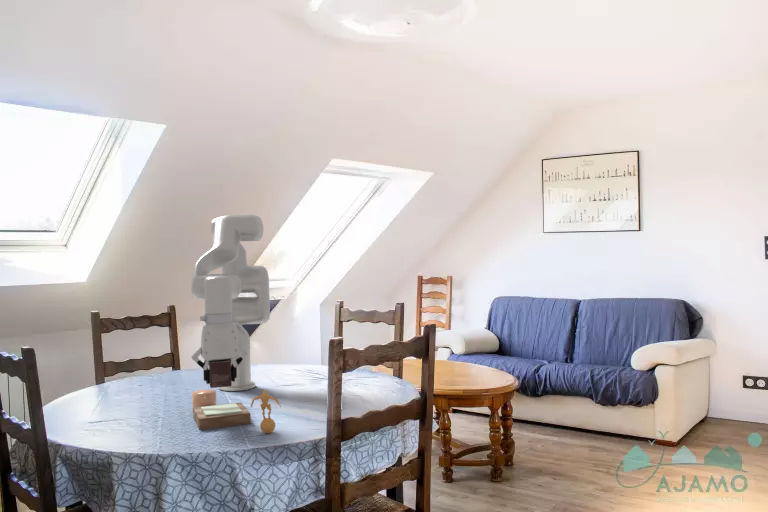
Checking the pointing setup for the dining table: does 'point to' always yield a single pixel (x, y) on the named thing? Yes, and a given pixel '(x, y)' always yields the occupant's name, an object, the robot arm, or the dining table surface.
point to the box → (220, 373)
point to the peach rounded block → (203, 398)
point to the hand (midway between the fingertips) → (220, 381)
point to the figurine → (267, 423)
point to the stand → (221, 416)
